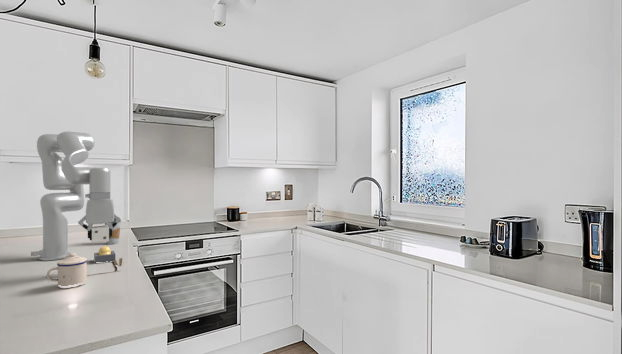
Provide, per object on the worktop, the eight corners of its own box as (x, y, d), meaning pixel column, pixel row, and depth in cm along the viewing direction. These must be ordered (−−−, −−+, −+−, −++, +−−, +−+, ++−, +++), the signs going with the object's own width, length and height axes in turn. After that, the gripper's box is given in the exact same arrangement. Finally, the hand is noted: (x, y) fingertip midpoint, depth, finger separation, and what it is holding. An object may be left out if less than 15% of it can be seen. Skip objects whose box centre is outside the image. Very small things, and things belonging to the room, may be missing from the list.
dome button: (98, 261, 153) (98, 248, 153) (98, 259, 157) (98, 246, 157) (111, 260, 156) (111, 246, 155) (110, 258, 160) (110, 244, 160)
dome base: (95, 263, 150) (95, 256, 150) (94, 260, 157) (94, 252, 157) (115, 261, 155) (115, 254, 155) (113, 257, 162) (113, 250, 162)
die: (92, 242, 136) (92, 228, 136) (91, 240, 141) (91, 226, 141) (109, 241, 139) (109, 226, 139) (107, 238, 144) (107, 224, 144)
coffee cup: (115, 245, 190) (115, 219, 190) (100, 244, 190) (100, 218, 190) (123, 242, 198) (123, 217, 198) (110, 241, 198) (110, 217, 198)
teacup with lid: (86, 279, 128) (86, 249, 128) (88, 285, 121) (88, 254, 121) (46, 285, 121) (46, 254, 121) (46, 292, 114) (46, 259, 114)
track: (75, 277, 130) (75, 270, 130) (74, 266, 146) (74, 260, 146) (125, 270, 141) (125, 263, 141) (119, 260, 156) (119, 254, 156)
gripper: (75, 197, 132) (75, 242, 132) (124, 196, 142) (124, 238, 142) (74, 196, 138) (75, 239, 138) (122, 195, 148) (122, 235, 148)
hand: (100, 238), depth 140 cm, fingers closed on die, 6 cm apart
